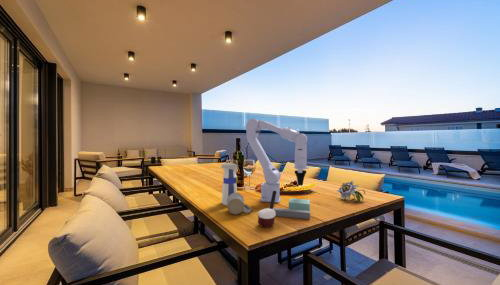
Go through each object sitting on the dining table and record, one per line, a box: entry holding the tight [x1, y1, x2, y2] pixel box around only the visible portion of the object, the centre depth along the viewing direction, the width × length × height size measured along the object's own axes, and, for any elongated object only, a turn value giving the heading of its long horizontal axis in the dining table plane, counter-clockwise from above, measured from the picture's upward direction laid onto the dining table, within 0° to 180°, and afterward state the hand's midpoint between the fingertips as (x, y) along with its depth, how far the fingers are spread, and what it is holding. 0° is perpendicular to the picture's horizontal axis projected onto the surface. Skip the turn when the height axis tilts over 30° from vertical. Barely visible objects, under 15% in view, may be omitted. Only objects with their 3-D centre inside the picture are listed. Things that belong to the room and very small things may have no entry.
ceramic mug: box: [226, 192, 252, 216], centre depth 97 cm, size 11×8×8 cm
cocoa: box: [257, 191, 276, 228], centre depth 82 cm, size 10×6×12 cm, turn 113°
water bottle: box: [221, 152, 239, 206], centre depth 110 cm, size 8×9×25 cm
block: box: [288, 198, 311, 212], centre depth 102 cm, size 9×7×4 cm
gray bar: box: [273, 207, 311, 220], centre depth 92 cm, size 15×2×2 cm, turn 76°
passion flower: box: [336, 180, 366, 203], centre depth 119 cm, size 11×11×12 cm
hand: (300, 185), depth 110 cm, fingers closed
